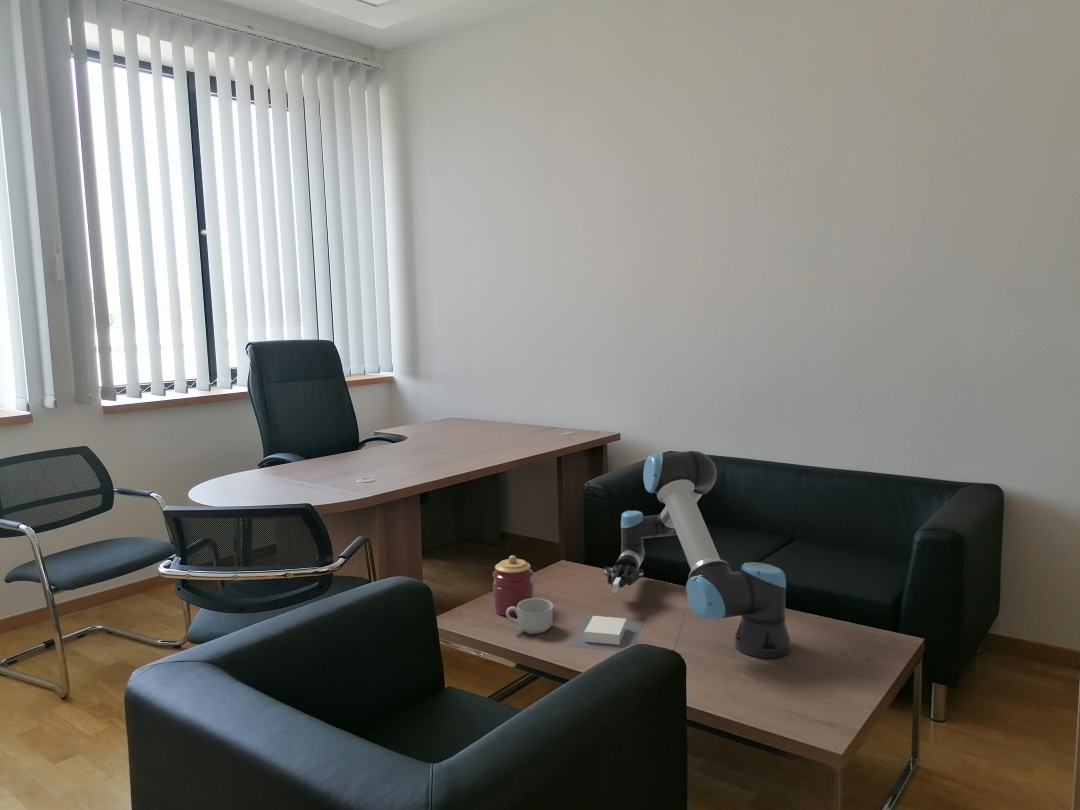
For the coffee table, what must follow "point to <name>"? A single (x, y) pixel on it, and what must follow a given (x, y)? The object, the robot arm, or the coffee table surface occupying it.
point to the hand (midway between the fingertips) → (614, 588)
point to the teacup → (533, 615)
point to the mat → (627, 640)
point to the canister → (511, 584)
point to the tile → (605, 630)
